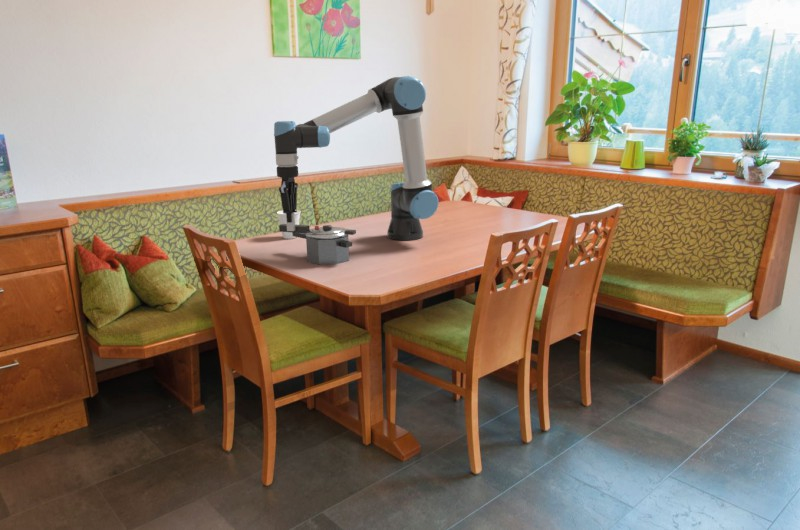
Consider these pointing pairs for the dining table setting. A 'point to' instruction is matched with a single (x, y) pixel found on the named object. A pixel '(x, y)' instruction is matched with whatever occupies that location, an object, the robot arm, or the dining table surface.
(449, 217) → the dining table surface
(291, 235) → the cup
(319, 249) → the cooker pot
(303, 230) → the lid
